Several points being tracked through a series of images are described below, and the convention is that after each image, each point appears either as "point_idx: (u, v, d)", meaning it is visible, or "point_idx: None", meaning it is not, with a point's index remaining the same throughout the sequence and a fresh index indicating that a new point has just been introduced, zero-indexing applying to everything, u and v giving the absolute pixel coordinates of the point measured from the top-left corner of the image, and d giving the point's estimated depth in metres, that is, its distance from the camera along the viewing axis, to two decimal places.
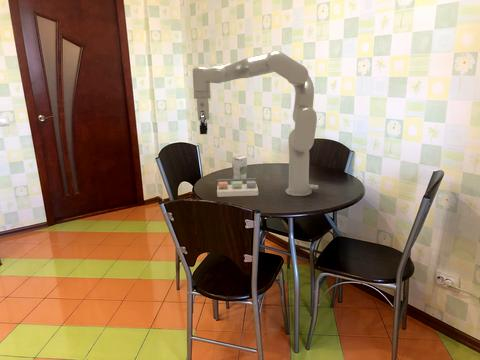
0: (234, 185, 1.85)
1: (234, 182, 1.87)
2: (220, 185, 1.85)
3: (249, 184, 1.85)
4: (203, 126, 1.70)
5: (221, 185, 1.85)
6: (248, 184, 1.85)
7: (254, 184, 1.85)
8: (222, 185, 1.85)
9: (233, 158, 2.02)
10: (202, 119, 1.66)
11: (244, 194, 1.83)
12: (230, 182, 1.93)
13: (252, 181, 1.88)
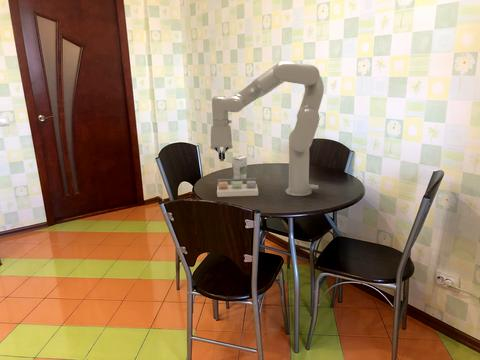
0: (234, 185, 1.85)
1: (234, 182, 1.87)
2: (220, 185, 1.85)
3: (249, 184, 1.85)
4: (224, 153, 1.83)
5: (221, 185, 1.85)
6: (248, 184, 1.85)
7: (254, 184, 1.85)
8: (222, 185, 1.85)
9: (233, 158, 2.02)
10: (230, 148, 1.82)
11: (244, 194, 1.83)
12: (230, 182, 1.93)
13: (252, 181, 1.88)
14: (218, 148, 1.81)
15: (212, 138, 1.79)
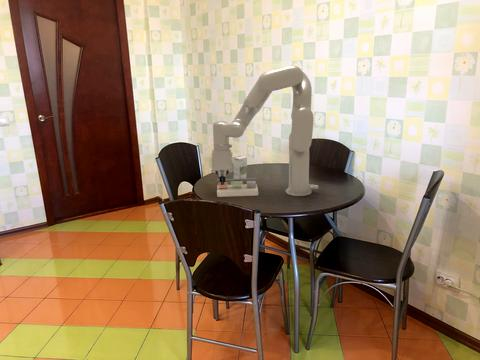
0: (234, 185, 1.85)
1: (234, 182, 1.87)
2: (220, 186, 1.85)
3: (249, 184, 1.85)
4: None
5: (221, 186, 1.85)
6: (248, 184, 1.85)
7: (254, 184, 1.85)
8: (222, 186, 1.85)
9: (233, 158, 2.02)
10: None
11: (244, 194, 1.83)
12: (230, 182, 1.93)
13: (252, 181, 1.88)
14: (219, 172, 1.84)
15: (213, 162, 1.82)
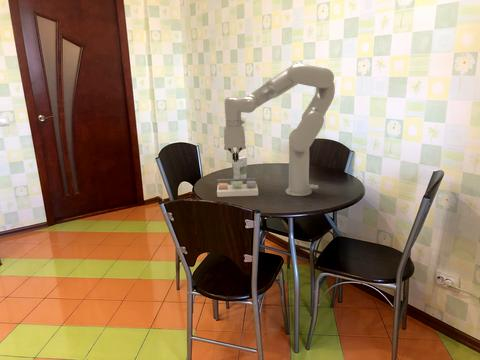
0: (234, 185, 1.85)
1: (234, 182, 1.87)
2: (220, 187, 1.85)
3: (249, 184, 1.85)
4: None
5: (221, 187, 1.85)
6: (248, 184, 1.85)
7: (254, 184, 1.85)
8: (222, 186, 1.85)
9: None
10: None
11: (244, 194, 1.83)
12: (230, 182, 1.93)
13: (252, 181, 1.88)
14: (232, 149, 1.81)
15: (225, 139, 1.79)
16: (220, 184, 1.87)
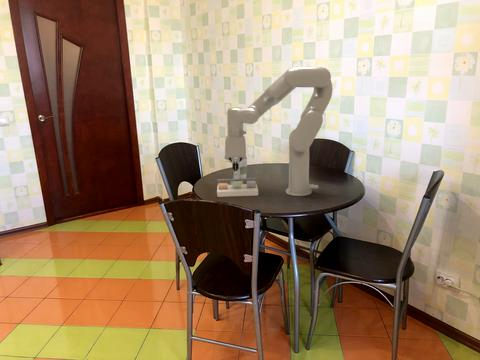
0: (234, 185, 1.85)
1: (234, 182, 1.87)
2: (220, 187, 1.85)
3: (249, 184, 1.85)
4: (238, 163, 1.85)
5: (221, 187, 1.85)
6: (248, 184, 1.85)
7: (254, 184, 1.85)
8: (222, 186, 1.85)
9: None
10: None
11: (244, 194, 1.83)
12: (230, 182, 1.93)
13: (252, 181, 1.88)
14: (232, 158, 1.83)
15: (226, 148, 1.80)
16: (220, 184, 1.87)
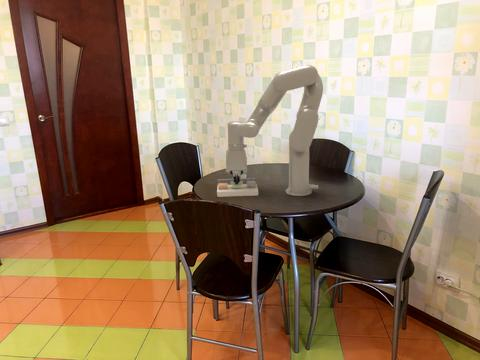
0: (234, 186, 1.85)
1: (234, 183, 1.87)
2: (220, 187, 1.85)
3: (249, 184, 1.85)
4: (239, 176, 1.87)
5: (221, 187, 1.85)
6: (248, 184, 1.85)
7: (254, 184, 1.85)
8: (222, 186, 1.85)
9: None
10: None
11: (244, 194, 1.83)
12: (230, 182, 1.93)
13: (252, 181, 1.88)
14: (233, 172, 1.84)
15: (227, 162, 1.82)
16: (220, 184, 1.87)
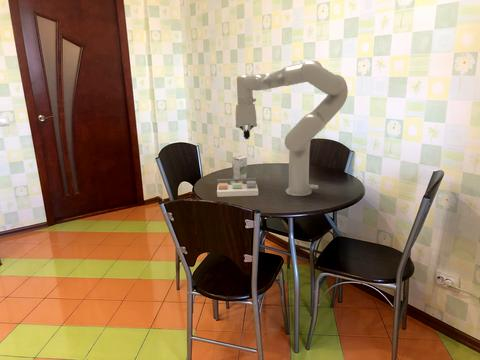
0: (234, 186, 1.85)
1: (234, 183, 1.87)
2: (220, 187, 1.85)
3: (249, 184, 1.85)
4: (249, 131, 1.88)
5: (221, 187, 1.85)
6: (248, 184, 1.85)
7: (254, 184, 1.85)
8: (222, 186, 1.85)
9: (233, 158, 2.02)
10: (254, 126, 1.87)
11: (244, 194, 1.83)
12: (230, 182, 1.93)
13: (252, 181, 1.88)
14: (243, 126, 1.85)
15: (237, 116, 1.83)
16: (220, 184, 1.87)
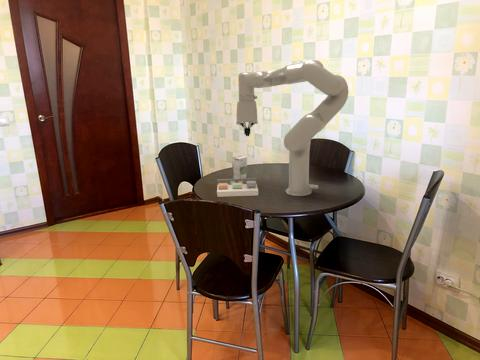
0: (234, 186, 1.85)
1: (234, 183, 1.87)
2: (220, 187, 1.85)
3: (249, 184, 1.85)
4: None
5: (221, 187, 1.85)
6: (248, 184, 1.85)
7: (254, 184, 1.85)
8: (222, 186, 1.85)
9: (233, 158, 2.02)
10: None
11: (244, 194, 1.83)
12: (230, 182, 1.93)
13: (252, 181, 1.88)
14: (244, 123, 1.86)
15: (238, 113, 1.84)
16: (220, 184, 1.87)
